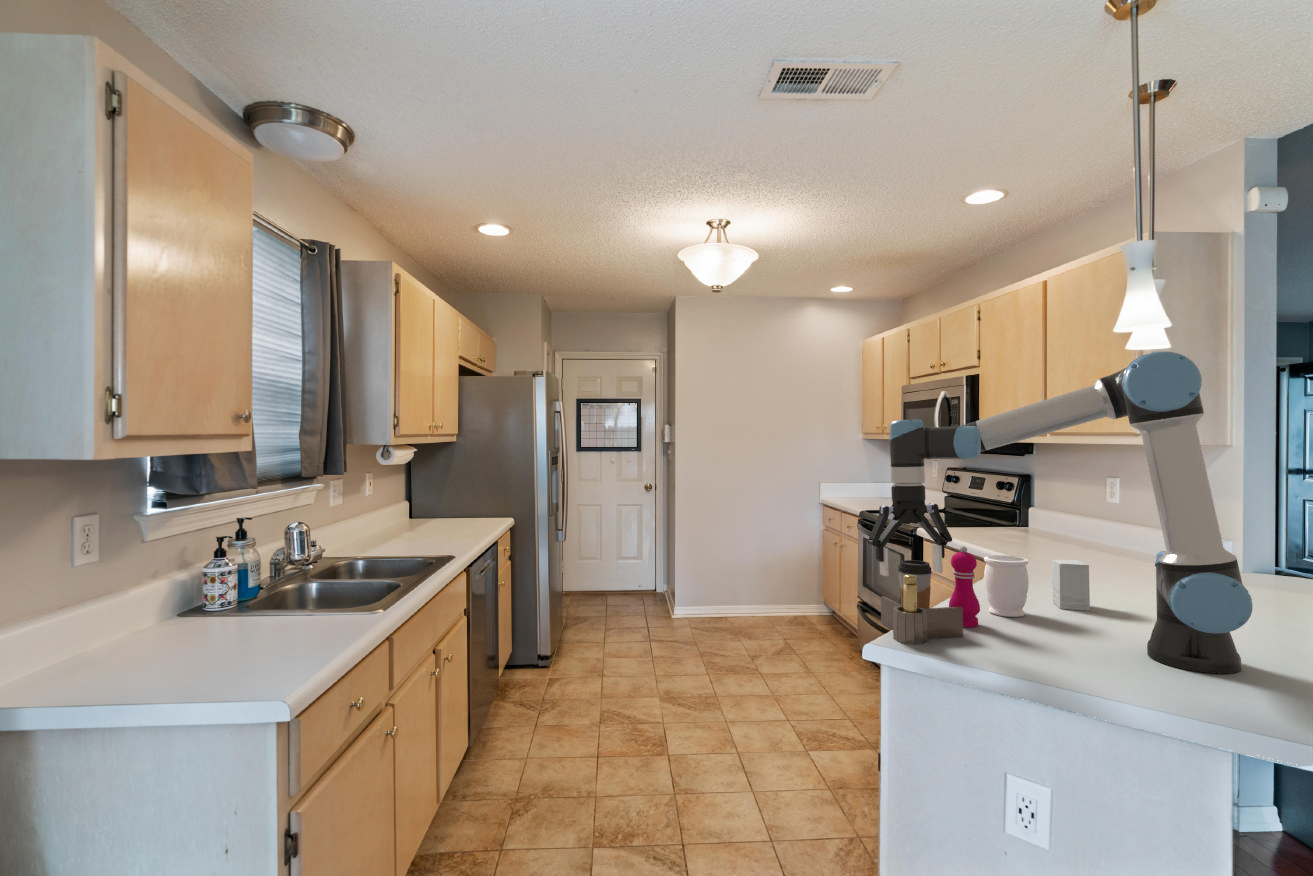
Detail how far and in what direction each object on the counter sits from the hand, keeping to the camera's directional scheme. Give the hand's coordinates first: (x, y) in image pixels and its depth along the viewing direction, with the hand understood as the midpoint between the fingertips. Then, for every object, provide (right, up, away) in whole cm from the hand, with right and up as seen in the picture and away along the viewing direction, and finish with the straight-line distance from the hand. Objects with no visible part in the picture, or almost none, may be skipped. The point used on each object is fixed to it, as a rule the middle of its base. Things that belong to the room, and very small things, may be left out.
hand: (911, 573), depth 150 cm
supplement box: (+56, -15, +27) cm, 64 cm away
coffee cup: (+8, -16, +16) cm, 24 cm away
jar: (+34, -16, +21) cm, 43 cm away
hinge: (+4, -16, +5) cm, 17 cm away
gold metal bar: (0, -16, 0) cm, 16 cm away
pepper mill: (+19, -16, +12) cm, 27 cm away
